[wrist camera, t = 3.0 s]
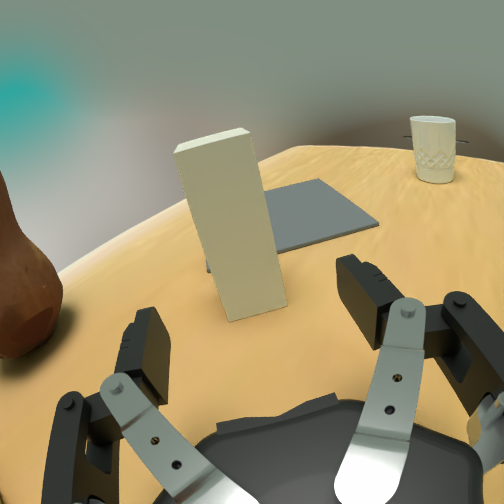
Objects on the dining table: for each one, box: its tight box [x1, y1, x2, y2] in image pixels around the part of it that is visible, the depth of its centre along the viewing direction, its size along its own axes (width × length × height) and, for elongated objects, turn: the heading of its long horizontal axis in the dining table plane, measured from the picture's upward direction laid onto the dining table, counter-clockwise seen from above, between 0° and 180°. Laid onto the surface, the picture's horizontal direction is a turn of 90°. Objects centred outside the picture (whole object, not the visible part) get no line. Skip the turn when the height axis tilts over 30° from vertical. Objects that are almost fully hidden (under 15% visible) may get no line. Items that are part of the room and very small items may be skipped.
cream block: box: [173, 128, 287, 322], centre depth 23 cm, size 5×5×14 cm
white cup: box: [410, 116, 456, 184], centre depth 39 cm, size 8×8×10 cm
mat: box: [206, 178, 379, 273], centre depth 41 cm, size 20×20×1 cm
